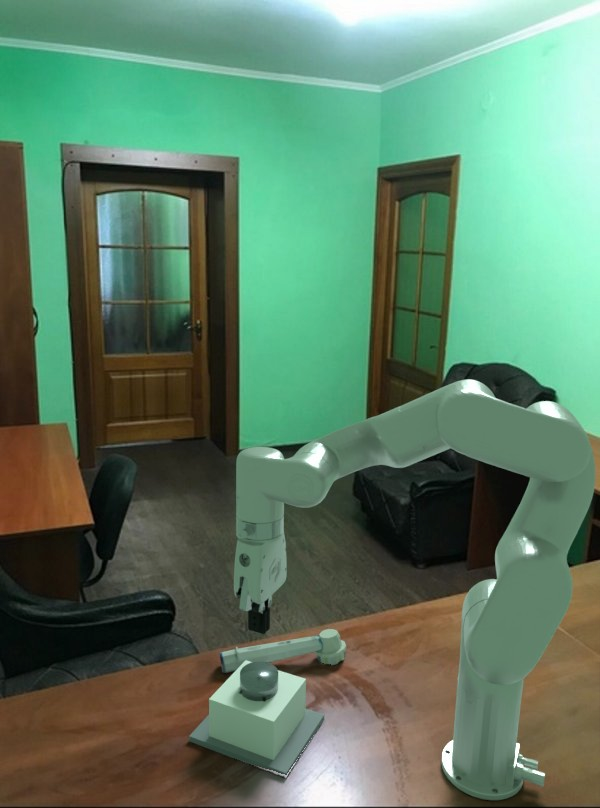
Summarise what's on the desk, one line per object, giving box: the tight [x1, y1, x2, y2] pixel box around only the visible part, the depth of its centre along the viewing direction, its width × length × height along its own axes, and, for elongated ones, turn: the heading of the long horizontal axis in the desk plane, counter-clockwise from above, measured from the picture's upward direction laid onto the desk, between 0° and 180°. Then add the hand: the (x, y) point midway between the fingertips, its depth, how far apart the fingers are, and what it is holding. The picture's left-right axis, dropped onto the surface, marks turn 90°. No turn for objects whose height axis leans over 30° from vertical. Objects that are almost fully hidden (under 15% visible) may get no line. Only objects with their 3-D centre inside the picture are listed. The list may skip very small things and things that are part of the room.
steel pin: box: [240, 661, 278, 702], centre depth 111 cm, size 6×6×9 cm
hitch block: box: [188, 660, 325, 775], centre depth 111 cm, size 18×15×8 cm
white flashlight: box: [219, 628, 347, 674], centre depth 130 cm, size 5×7×25 cm
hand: (258, 629), depth 108 cm, fingers closed
